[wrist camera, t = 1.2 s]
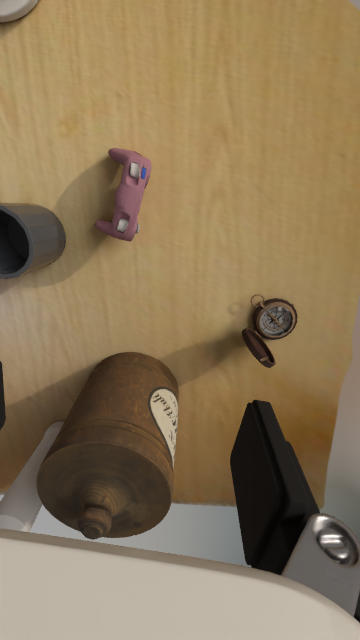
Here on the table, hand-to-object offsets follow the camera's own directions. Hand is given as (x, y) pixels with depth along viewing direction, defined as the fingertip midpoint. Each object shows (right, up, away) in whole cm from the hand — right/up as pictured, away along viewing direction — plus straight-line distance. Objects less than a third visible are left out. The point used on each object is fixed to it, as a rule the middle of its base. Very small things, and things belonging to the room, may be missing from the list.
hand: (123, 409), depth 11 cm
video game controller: (-5, +19, +26) cm, 32 cm away
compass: (+15, +4, +31) cm, 34 cm away
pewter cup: (-17, +15, +28) cm, 36 cm away
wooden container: (-5, -8, +36) cm, 38 cm away
